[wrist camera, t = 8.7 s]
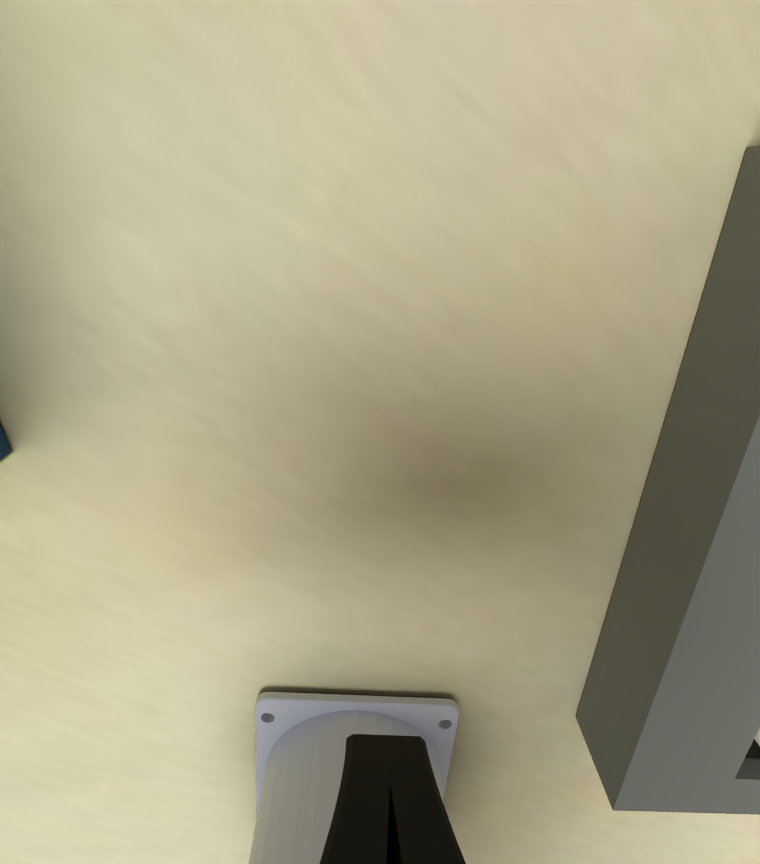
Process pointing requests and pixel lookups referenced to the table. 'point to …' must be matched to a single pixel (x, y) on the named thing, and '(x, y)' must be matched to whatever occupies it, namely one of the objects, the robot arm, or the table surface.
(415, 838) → the robot arm
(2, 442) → the protein box
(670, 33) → the table surface
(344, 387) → the table surface
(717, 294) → the grey slotted block
